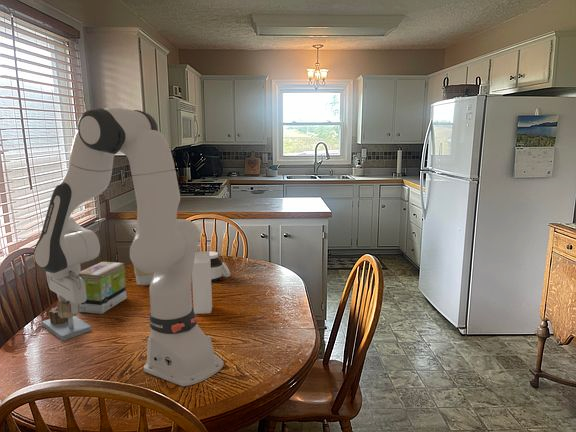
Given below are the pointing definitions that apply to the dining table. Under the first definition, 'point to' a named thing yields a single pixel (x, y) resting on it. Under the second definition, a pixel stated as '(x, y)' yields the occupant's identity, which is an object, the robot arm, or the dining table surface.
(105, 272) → the tea box
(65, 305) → the birch gear
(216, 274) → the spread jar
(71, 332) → the gear board
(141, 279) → the coffee cup
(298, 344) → the dining table surface
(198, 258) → the milk
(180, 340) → the robot arm
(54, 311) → the walnut gear
